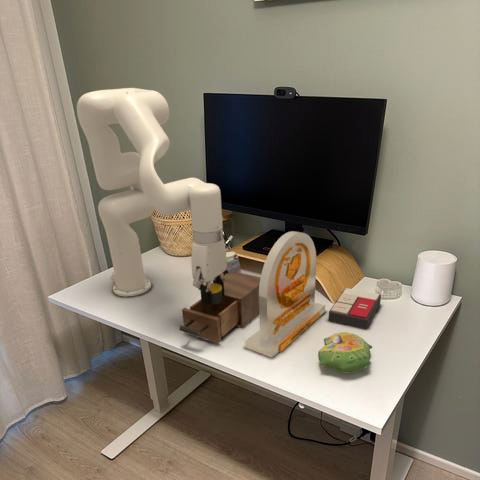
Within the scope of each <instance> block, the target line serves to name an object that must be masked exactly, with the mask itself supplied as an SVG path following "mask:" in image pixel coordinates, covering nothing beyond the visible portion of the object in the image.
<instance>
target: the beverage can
mask: <svg viewBox="0 0 480 480" xmlns="http://www.w3.org/2000/svg"><path fill="white" fill-rule="evenodd" d="M226 257H227V263H228V267H227V269H226V273H225V275H226V274H228V273H229V272H230V271H234V272H239V273H242V269H241V264H240V259H239V255H238V254H237V253H236V252H235V251H226Z"/></svg>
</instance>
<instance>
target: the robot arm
mask: <svg viewBox="0 0 480 480" xmlns="http://www.w3.org/2000/svg"><path fill="white" fill-rule="evenodd" d="M76 115H77V120H78V122H79V125H80V127H81V129H82V132H83V133H84V135H85V138H86V141H87V144H88V148H89V153H90V156H91V161H92V166H93V169H94V174H95V177H96V178H95V179H96V181H97V184H98V185H99V187H100V188H101V189H102V190H104V191H116V190H120V189H124V188H127V187H130V189H128V190H125V191H121V192H117V193H113V194H112V193H111V194H109V195H106V196H105V197H103V198H102V199H100V200H99V203H98V205H97V211H98V215H99V218H100V220H101V222H102V225H103V228H104V231H105V234H106V239H107V243H108V247H109V252H110V258H111V263H112V268H113V271H112V273H111V275H110V276H109V280H111V281H114V284H113V286H112V290H113V291H112V292H113V293H114V294H115V295H116V296H119V297H126V298H127V297H135V296H140V295H143V294H145V293H146V292H149V290H150V289H151V288H152V283H151V281H150V280H149V279H147V278H146V274H145V269H144V263H143V257H142V250H141V245H140V238H139V236H138V233H137V232H136V231H135V230H134V229H133V228H132V227H131V226H130V224H132V223H135V222H137V221H142V220H144V219H147V218H149V217H151V216H152V215H153V213H154V212H155V211H154V210H156V211H157V213H159V214H160V215H162V216H166V217H170V216H175V215H177V214H180V213H181V214H182V213H184V212H187V211H190V216H191V227H192V236H193V237H192V238H193V243H192V245H191V255H190V258H191V259H190V260H191V276H192V279H193V281H192V286H193V287H195V288H197V290H198V291H200V299H201V302H202V303H205V304H208V305H211V304H212V292H211V291H210V282H211V280H212V279H215V280H213V283H217V284H220V285H221V286H222V296H223V295H224V281H225V277H224V276H225V273H226V269H227V267H228V263H227V257H226V252H227V249H226V243H225V239H224V226H223V211H222V210H223V209H222V195H221V193H222V192H221V189H220V186H218V185H217V184H215V183H210V182H205V181H203V180H201V179H200V178H197V177H187V178H184V179H183V178H182V179H178V180H175V181H170V182H167V183H164V182H163V181H162V179H161V178H160V177H159V175H158V173H157V171H156V167H155V164H156V163H157V162H158V161H159V160H160V159H161V158H163V156H165V154H166V153H167V152H168V150H169V148H170V144H171V141H170V138H169V137H168V135H167V133H166V132H165V131H164V129H163V127H162V125H164V124H166V123H167V121H168V120H169V117H170V106H169V104H168V102H167V100H166V98H165V97H164V96H163V94H162V93H160V92H159V91H156V90H152V89H143V88H137V87H123V88H113V89H100V90H94V91H90V92H86V93H83V94H82V95H81V96H80V97H79V99H78V101H77V103H76ZM116 124H119V125H120V126H121V129H122V130H123V132H124V133H125V135H126V136H127V138H128V139H129V141H130V142H131V144H132V146H133V147H134V149H135V150H136V151H127V152H122V151H121V145H120V141H119V137H118V136H117V134H116V133H115V132H114V131H113V129H112V128H111V127H110V125H116ZM203 282H206V286H205V285H203Z"/></svg>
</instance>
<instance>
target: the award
mask: <svg viewBox="0 0 480 480" xmlns="http://www.w3.org/2000/svg"><path fill="white" fill-rule="evenodd" d="M260 277H261V278H260V285H259V314H258V316H259V329H258V330H257V331H256V332H254V333H253V334H252V335H251V336H249V337H248V338H247V339H246V340H245V341H244V343H245V345H244V346H245V349H248V350H250V351H253V352H255V353H258V354H261V355H263V356H265V357H269V358H271V359H273V358H274V357H275V356H276V355H277V354H279V352H280V353H281V352H283V351H284V350H285V349H286V348H287V347H288V346H289V345H290V344H291V343H293V342H294V340H296V339H297V338H298V337H299V336H300V335H301V334H302V333H303V332H304V331H306V330H307V329H308V328H309V327H311V325H312V324H313V323H315V322H316V321H317V320H318V319H319V318H320V317H321V316H322V315H323V314H324V313H326V305H325V304H322V303H320V302H316V282H317V281H316V280H317V250H316V247H315V243H314V241H313V239H312V238H311V237H310V235H309V234H308V233H305V232H300V231H295V230H292V231H288V232H285V233H284V234H282V235H281V236H280V237H279V238H278V239H277V241H275V243H274V244H273V246H272V247H271V249H270V250H269V252H268V255H267V257H266V259H265V261H264V264H263V267H262V270H261V274H260Z"/></svg>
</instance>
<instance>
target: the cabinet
mask: <svg viewBox="0 0 480 480" xmlns="http://www.w3.org/2000/svg"><path fill="white" fill-rule="evenodd" d="M224 277H225V281H224V295H223V296H222V297H225V298H229V299H233V300H237V301H239V313H240V322H239V323H238V324H237V325H235V326H234V327H238V328H244V327H245V326H246V325H247V324H249V322H251V321H252V320H253V319H254V318H255V317H256V316H258V315H259V285H260V278H261V276H258V275H257V276H256V275H252V274H249V273H243V272H241V273H239V272H234V271H230V272H229V273H228V274H226V275H225V276H224Z"/></svg>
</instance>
